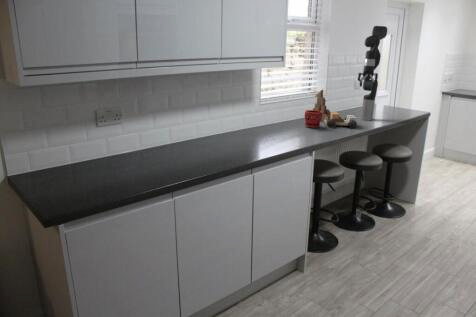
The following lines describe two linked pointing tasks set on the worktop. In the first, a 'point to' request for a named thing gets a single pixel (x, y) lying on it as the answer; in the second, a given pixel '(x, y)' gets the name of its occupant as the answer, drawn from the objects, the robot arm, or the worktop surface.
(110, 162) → the worktop surface
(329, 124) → the car chassis
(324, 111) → the wooden toy
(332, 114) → the engine block
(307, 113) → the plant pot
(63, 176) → the worktop surface
